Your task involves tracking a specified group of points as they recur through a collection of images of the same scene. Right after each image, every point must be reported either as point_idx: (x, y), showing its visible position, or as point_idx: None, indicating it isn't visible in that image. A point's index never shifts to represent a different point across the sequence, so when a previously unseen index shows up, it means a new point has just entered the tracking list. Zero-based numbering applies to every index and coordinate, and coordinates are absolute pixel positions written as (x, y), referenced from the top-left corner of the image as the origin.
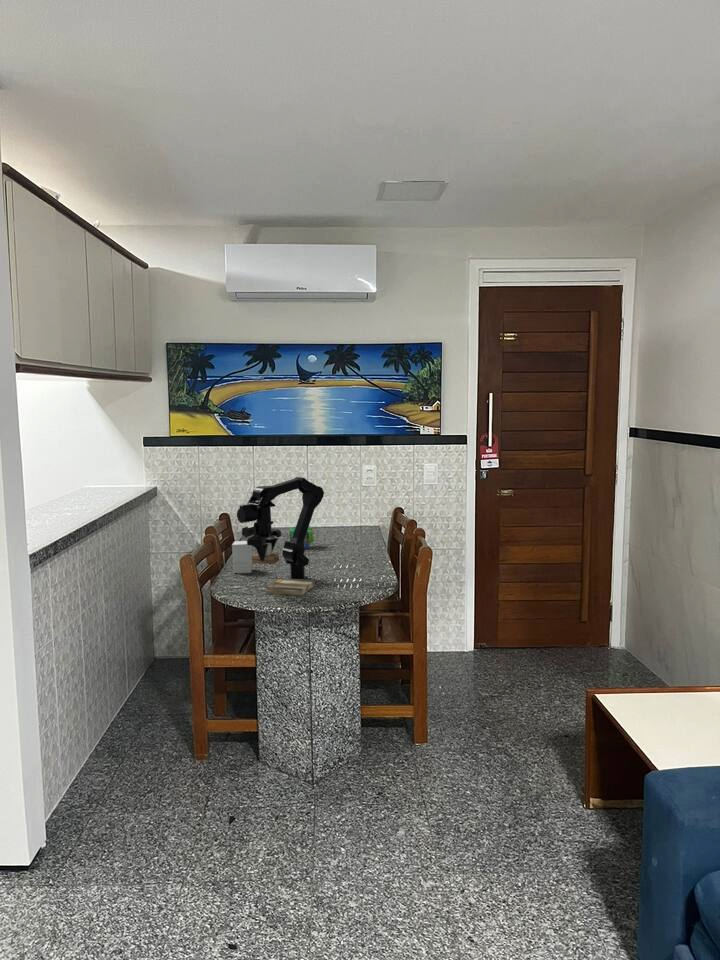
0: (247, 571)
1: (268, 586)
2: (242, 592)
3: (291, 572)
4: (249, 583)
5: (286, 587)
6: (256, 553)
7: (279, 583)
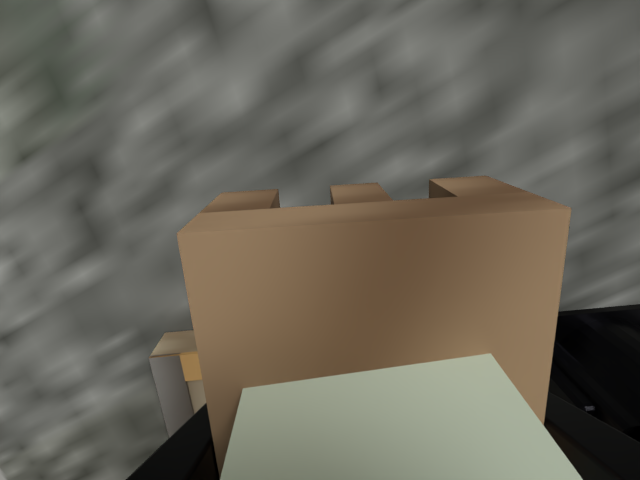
0: None
1: (187, 355)
2: (107, 134)
3: (565, 395)
4: (400, 28)
5: None
6: (440, 235)
7: None
